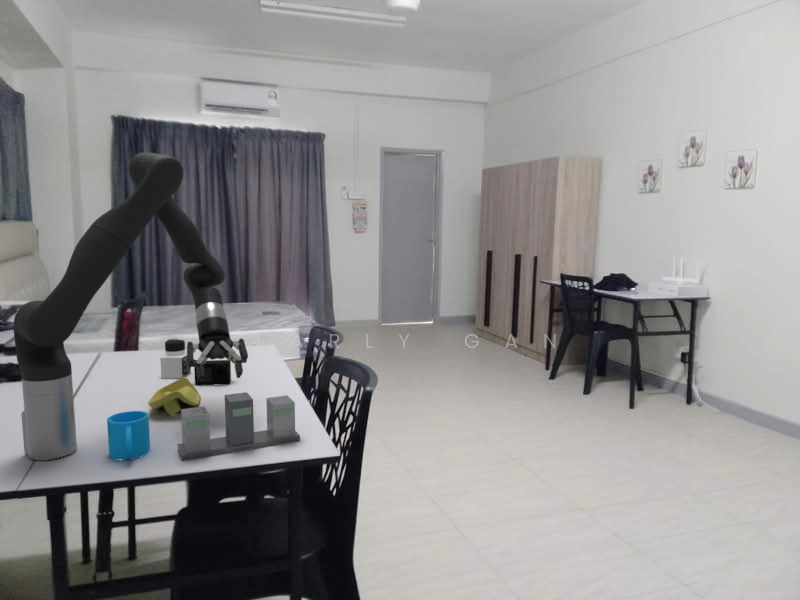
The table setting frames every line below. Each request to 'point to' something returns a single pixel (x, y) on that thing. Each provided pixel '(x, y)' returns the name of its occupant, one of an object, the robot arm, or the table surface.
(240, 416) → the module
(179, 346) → the medicine bottle
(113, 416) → the mug
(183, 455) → the rail
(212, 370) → the digital camera
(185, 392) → the plastic component
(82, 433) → the table surface
